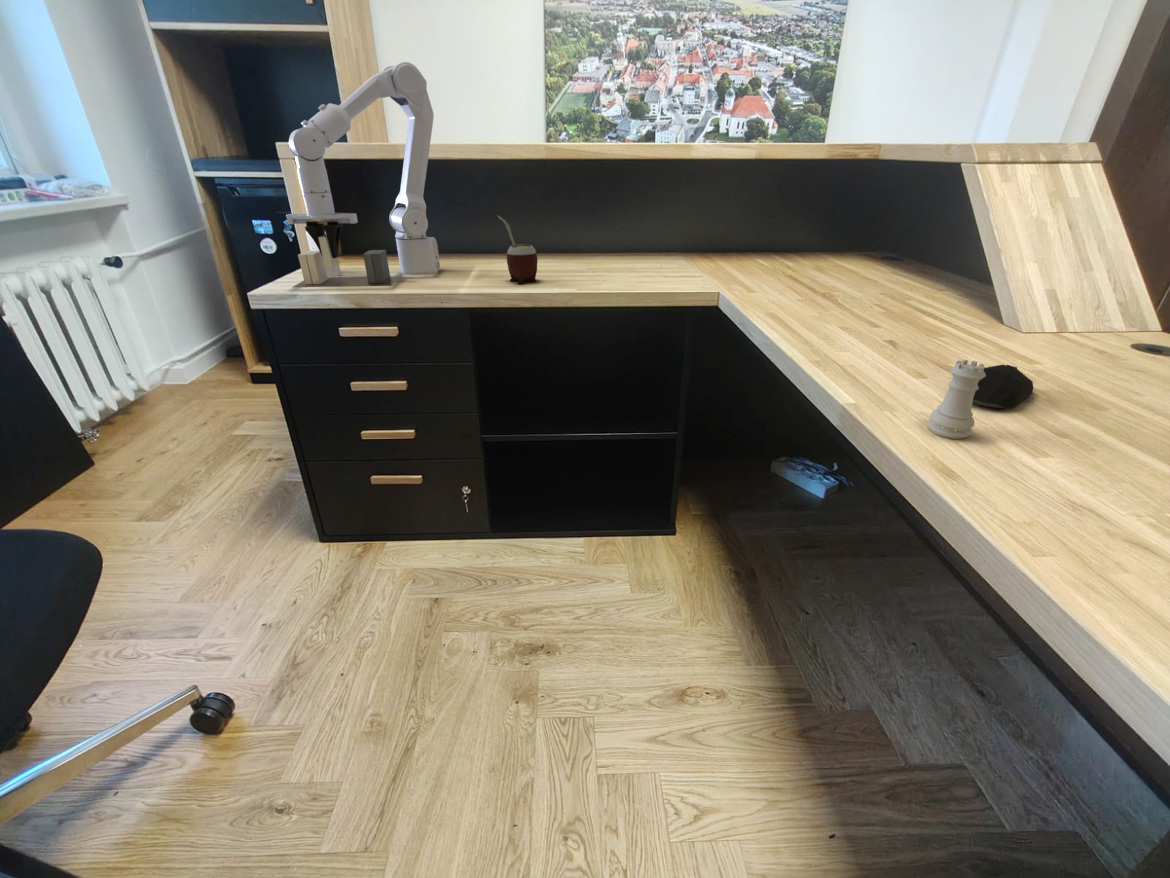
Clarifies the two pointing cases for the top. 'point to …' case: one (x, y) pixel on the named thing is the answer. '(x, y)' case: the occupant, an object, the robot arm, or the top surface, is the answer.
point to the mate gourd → (521, 260)
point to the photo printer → (313, 247)
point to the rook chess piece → (957, 402)
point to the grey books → (376, 266)
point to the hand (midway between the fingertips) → (330, 257)
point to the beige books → (313, 267)
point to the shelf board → (349, 282)
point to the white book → (327, 252)
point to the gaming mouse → (1002, 387)
